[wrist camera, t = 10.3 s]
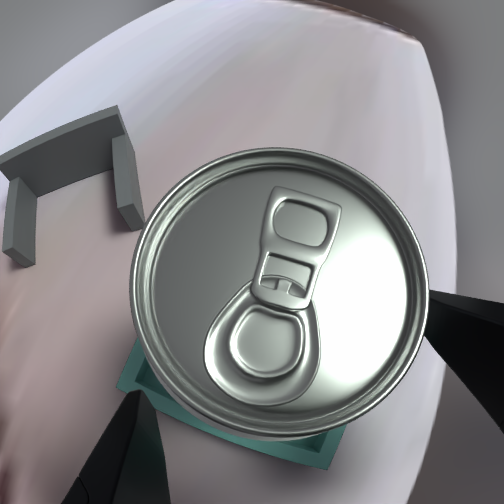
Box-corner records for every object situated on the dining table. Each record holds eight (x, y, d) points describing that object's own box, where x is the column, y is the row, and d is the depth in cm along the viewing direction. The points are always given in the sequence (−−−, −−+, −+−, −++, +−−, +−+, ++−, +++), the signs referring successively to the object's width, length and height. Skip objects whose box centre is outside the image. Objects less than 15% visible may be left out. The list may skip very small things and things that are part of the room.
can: (180, 380, 15) (58, 378, 4) (218, 273, 18) (190, 108, 7) (296, 416, 15) (407, 482, 4) (327, 306, 17) (448, 186, 6)
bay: (146, 227, 19) (122, 183, 15) (25, 267, 18) (-16, 238, 13) (134, 151, 22) (117, 104, 17) (28, 191, 20) (-1, 156, 16)
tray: (377, 282, 19) (391, 271, 17) (318, 461, 14) (327, 470, 12) (208, 218, 20) (205, 202, 18) (128, 386, 16) (115, 387, 14)
